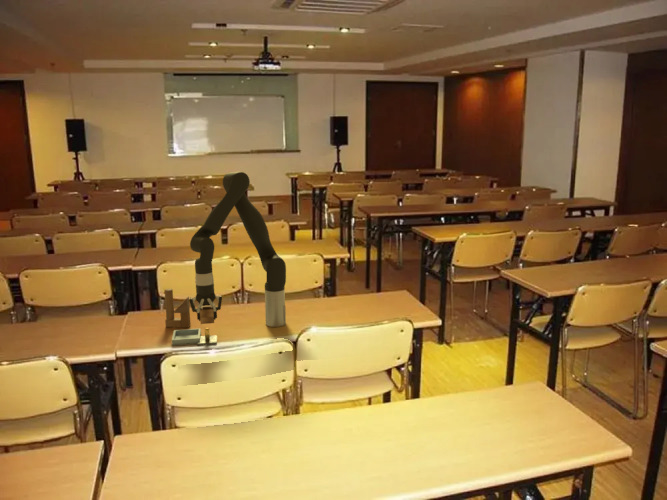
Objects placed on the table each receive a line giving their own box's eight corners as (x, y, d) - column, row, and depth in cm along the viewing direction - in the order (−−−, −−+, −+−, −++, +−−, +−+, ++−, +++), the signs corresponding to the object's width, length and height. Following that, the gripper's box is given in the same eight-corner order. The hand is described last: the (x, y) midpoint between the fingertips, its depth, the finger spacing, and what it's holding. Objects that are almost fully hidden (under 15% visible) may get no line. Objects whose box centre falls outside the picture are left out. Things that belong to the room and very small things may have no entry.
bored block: (214, 318, 245) (213, 305, 244) (214, 323, 240) (213, 309, 238) (201, 319, 244) (200, 306, 243) (200, 324, 239) (199, 310, 237)
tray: (200, 333, 253) (200, 328, 252) (199, 343, 242) (199, 338, 241) (174, 335, 251) (174, 330, 250) (172, 345, 240) (171, 340, 239)
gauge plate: (217, 337, 249) (216, 324, 247) (216, 344, 241) (216, 331, 240) (198, 338, 247) (197, 325, 246) (197, 345, 240) (197, 332, 238)
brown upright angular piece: (188, 327, 260) (186, 290, 256) (165, 327, 260) (162, 290, 256) (190, 324, 263) (188, 288, 259) (167, 324, 263) (165, 288, 259)
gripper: (221, 278, 243) (224, 315, 247) (187, 281, 240) (190, 318, 244) (222, 283, 235) (224, 321, 239) (186, 286, 233) (189, 324, 237)
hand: (207, 319), depth 242 cm, fingers closed on bored block, 5 cm apart
